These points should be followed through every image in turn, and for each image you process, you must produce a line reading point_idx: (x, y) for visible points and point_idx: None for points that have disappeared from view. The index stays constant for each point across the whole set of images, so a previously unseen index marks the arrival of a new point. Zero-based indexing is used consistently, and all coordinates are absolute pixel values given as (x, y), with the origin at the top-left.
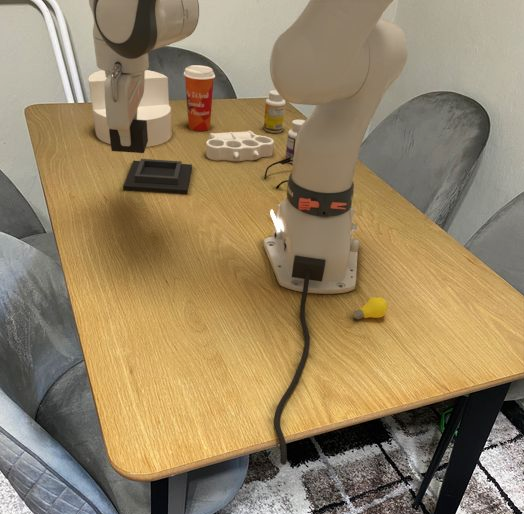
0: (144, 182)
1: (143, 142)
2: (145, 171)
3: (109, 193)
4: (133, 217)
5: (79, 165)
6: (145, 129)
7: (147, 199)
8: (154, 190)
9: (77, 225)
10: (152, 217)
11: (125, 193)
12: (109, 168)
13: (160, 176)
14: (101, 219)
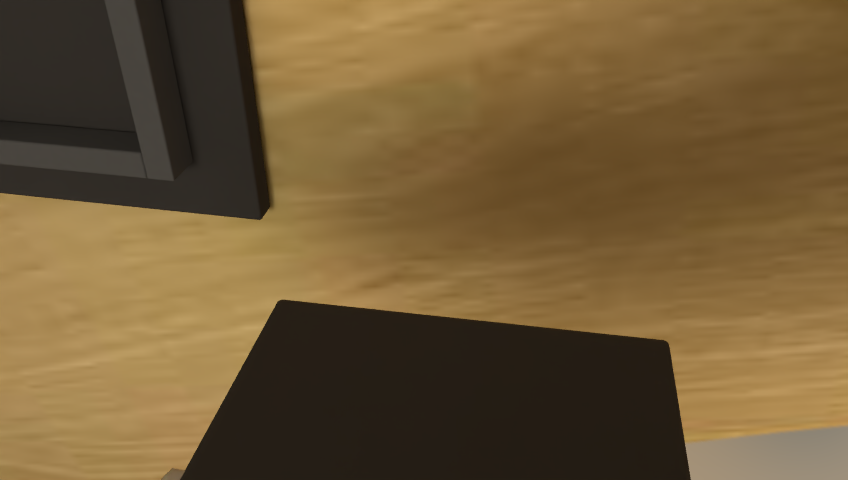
0: (181, 107)
1: (655, 435)
2: (31, 110)
3: (324, 268)
4: (602, 135)
5: (83, 392)
6: (363, 470)
7: (353, 68)
8: (240, 33)
9: (682, 377)
10: (603, 17)
11: (304, 194)
12: (52, 281)
13: (121, 13)
14: (622, 288)
